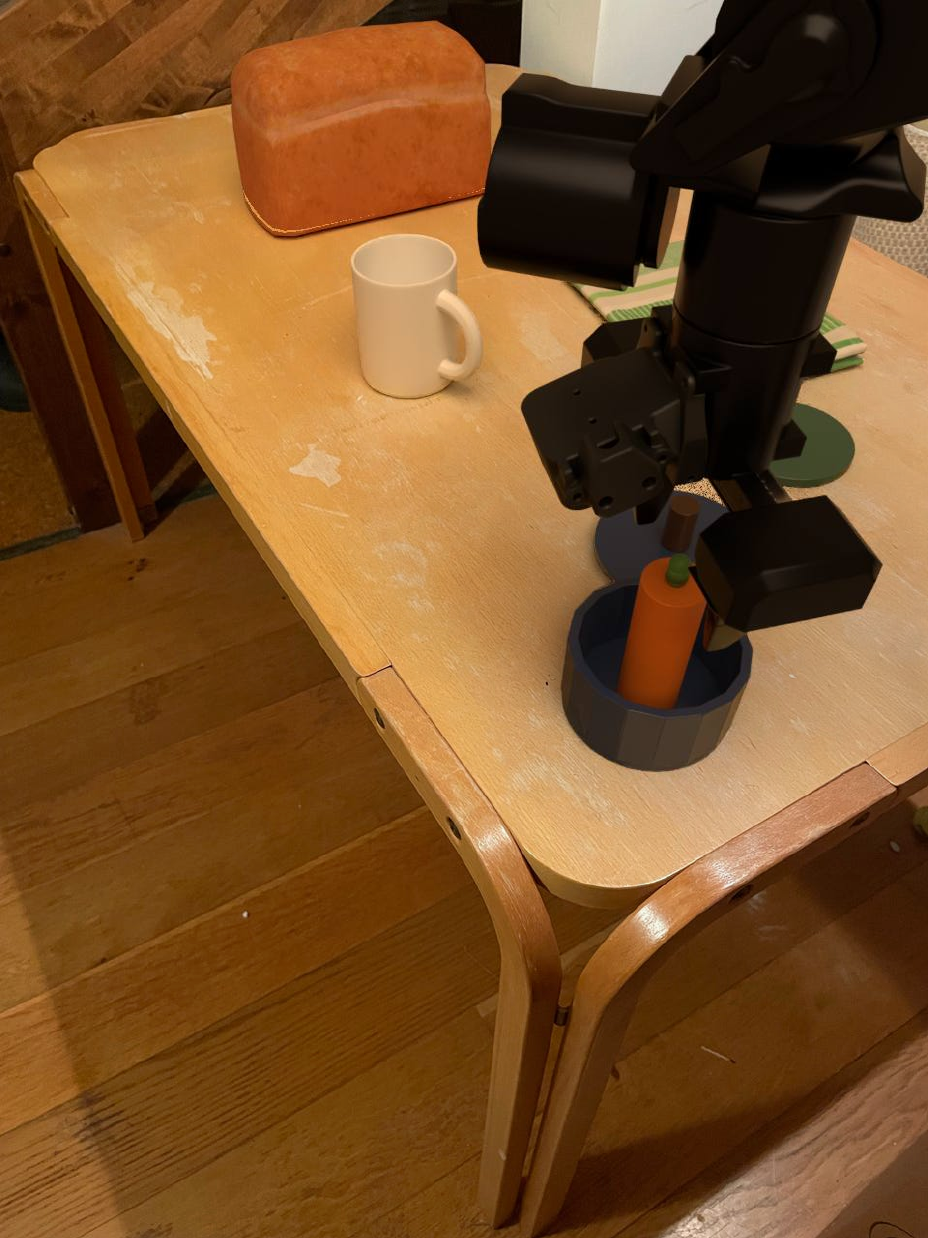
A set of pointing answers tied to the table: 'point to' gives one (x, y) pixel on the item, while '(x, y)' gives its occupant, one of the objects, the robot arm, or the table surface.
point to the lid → (653, 534)
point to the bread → (360, 124)
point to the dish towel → (660, 290)
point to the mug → (411, 316)
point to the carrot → (661, 633)
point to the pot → (634, 727)
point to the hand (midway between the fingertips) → (677, 581)
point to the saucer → (816, 450)
